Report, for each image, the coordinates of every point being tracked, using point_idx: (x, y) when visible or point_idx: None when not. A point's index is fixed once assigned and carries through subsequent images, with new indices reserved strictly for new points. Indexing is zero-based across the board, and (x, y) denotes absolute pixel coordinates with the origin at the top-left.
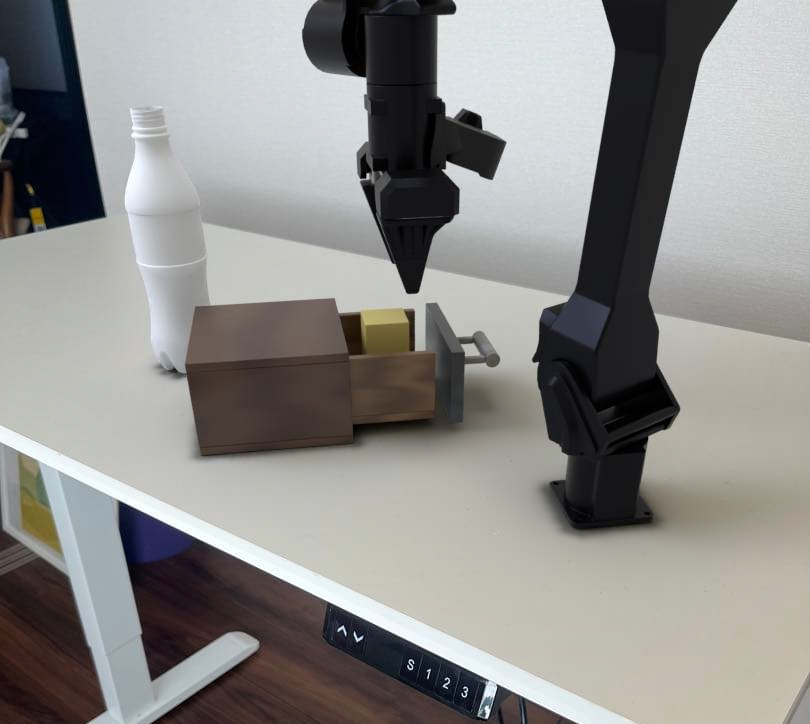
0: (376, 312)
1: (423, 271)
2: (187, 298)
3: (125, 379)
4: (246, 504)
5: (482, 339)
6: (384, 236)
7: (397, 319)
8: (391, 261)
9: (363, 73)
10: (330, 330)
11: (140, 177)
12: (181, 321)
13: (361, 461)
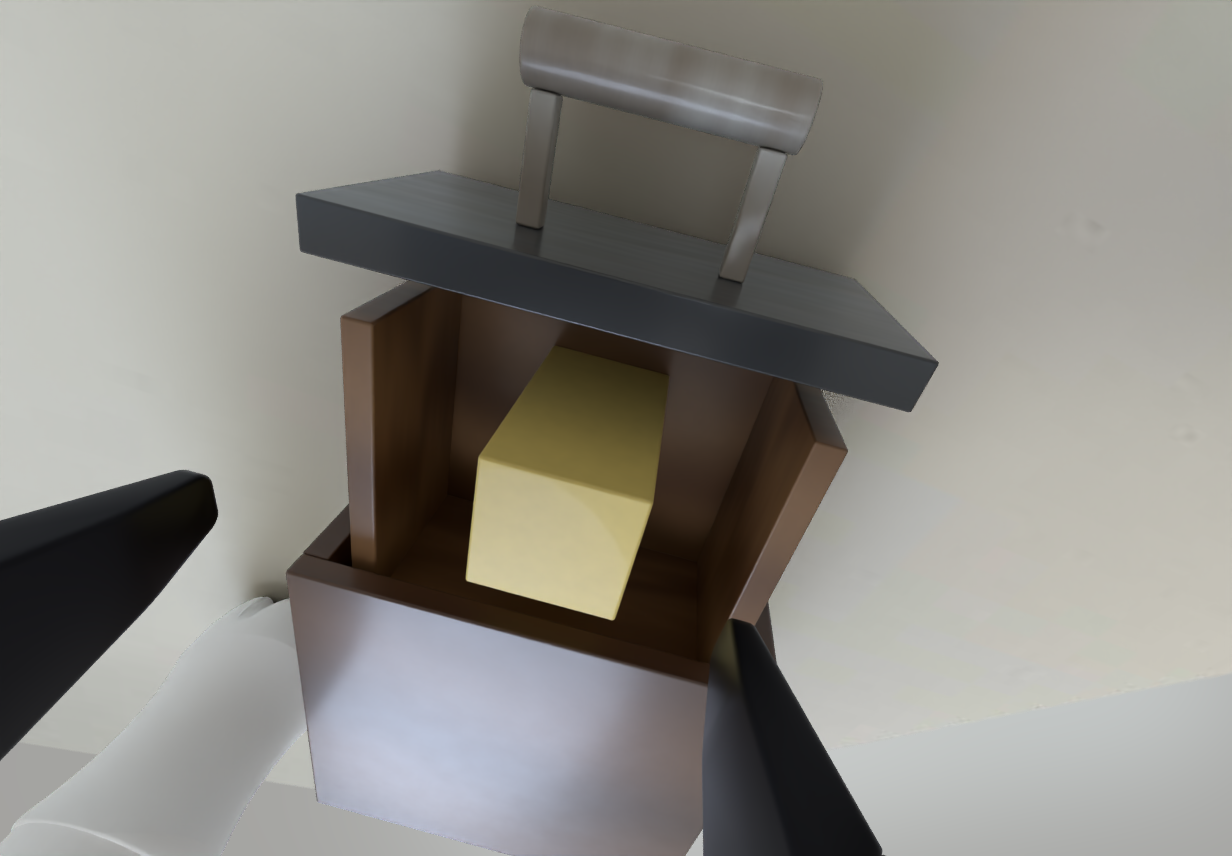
0: (506, 552)
1: (820, 744)
2: (236, 778)
3: None
4: (859, 700)
5: (631, 81)
6: (74, 667)
7: (607, 525)
8: (207, 530)
9: None
10: (586, 679)
11: None
12: (281, 742)
13: (838, 528)
